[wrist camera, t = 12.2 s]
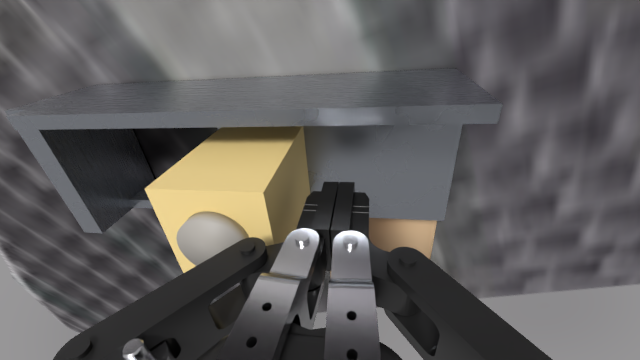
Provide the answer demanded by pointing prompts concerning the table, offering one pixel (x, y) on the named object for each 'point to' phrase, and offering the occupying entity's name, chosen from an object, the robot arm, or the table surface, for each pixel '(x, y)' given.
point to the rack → (264, 111)
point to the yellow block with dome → (233, 191)
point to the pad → (402, 234)
